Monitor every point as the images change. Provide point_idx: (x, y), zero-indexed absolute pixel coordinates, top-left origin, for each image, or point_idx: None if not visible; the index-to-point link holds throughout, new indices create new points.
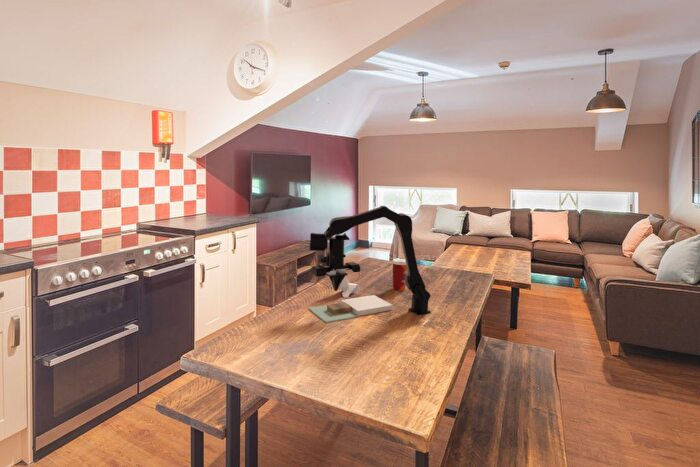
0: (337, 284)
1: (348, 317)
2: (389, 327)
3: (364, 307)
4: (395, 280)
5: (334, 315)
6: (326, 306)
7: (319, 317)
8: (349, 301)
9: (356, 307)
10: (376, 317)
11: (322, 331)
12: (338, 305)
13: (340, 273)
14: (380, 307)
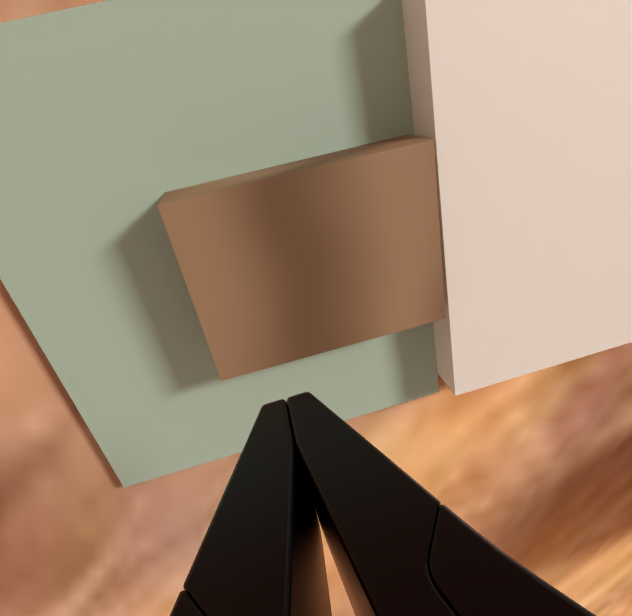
0: (354, 610)
1: (341, 417)
2: (527, 540)
3: (556, 316)
4: None
5: None
6: (171, 50)
7: (64, 376)
8: (509, 76)
9: (486, 306)
10: (549, 404)
11: (89, 599)
12: (310, 251)
13: None
14: None
